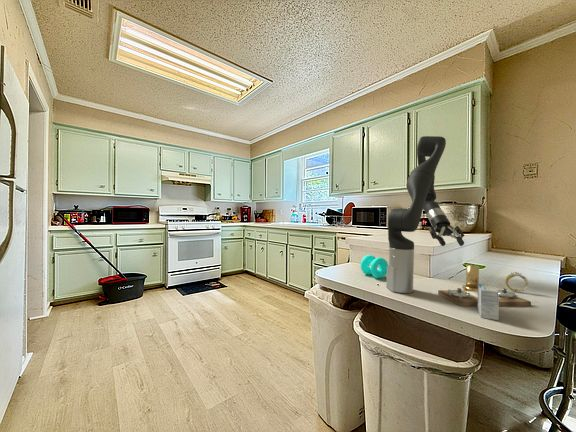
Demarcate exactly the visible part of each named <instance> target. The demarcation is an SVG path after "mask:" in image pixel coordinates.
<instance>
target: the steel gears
mask: <svg viewBox="0 0 576 432" xmlns="http://www.w3.org/2000/svg"><path fill="white" fill-rule="evenodd" d="M461 290H462V288H460V287H458V288H457V289H448V293H449V296H454V297H458V298H459V299H462V298H468V299H471V295H470V293H469V292H464V291H461ZM497 291H498V292H499V297H503V298H506V299H509V298H515V299H517V297H519V295H518V294H516V293H515V291H507V288H505V287H504V288H503V287H502V288H501V289H497Z"/></svg>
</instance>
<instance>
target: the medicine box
mask: <svg viewBox="0 0 576 432" xmlns="http://www.w3.org/2000/svg"><path fill="white" fill-rule="evenodd" d="M497 290H498V289H497V287H495V285H490V284H482V283H479V284H478V306H477V311H478V313H479V316H480V318H482V319H488V320H492V321H499V319H500V313H499V309H500V306H499V292H498V291H497Z"/></svg>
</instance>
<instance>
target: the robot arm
mask: <svg viewBox="0 0 576 432" xmlns="http://www.w3.org/2000/svg"><path fill="white" fill-rule="evenodd" d="M446 145H447V139H446V138H445V137H443V136H440V135H439V136H437V135H434V136H432V135H431V136H430V135H429V136H428V135H427V136H426V135H423V136H421V137H420V138H419V139H418V142H417V144H416V157H417V166H416V167H414V168H413V169H412V170H411V172H410V174H409V176H408V178H407V181H406V190H407V192H408V194H409V196H410V198H411V204H410V207H409V208H392V209H391V210H390V211H389V213H388V216H387V231H388V232H387V236H388V237H387V240H388V245H389V247H388V249H389V251H388V265H387V274H386V283H385V284H386V289H388V290H389V291H390V292H391V293H400V294H412V293H413V292H414V274H415V273H414V266H415V263H414V261H415V243H414V241H413V240H411V239H409V238H407V237H406V236H404V235H403V234H402V232H404V233H405V232H407V233H414V232H415V231H416V230H417V229H418V227H419V225H420V222H421V218H422V216H423V215H422V213H423V211H424V212H425V214H426V217H427V219H428V220H429V223H430V224H431V226H430V227H429V229H428V231H429V234H430V236H431V239H433V240H435V239H436V240H437V241H438V243H439V244H440V246H441V247H445V245H446V241H445V239H444V237H446V236H447V237H451V238H452V239H456V241H457V243H458V245H459V246H460V247H463V246H464V245H465V242H464V240H463V238H464V237H465V234H464V232H463V231H462V230H461V228H460V227H459V226H458V225H457V226H455V227H453V226H451V222H450V219H448V217H447V215H446V213H445V212H444V211H443V210H442V208H441V206H440V205H439V203H438V202H437V201H436V199H437V193H436V191H435V179H436V178H435V177H436V175H435V174H436V173H435V172H436V171H437V168H438V165H439V162H440V160H441V158H442V156H443V154H444V152H445V149H446ZM426 157H427V159H426ZM428 157H429V158H428Z"/></svg>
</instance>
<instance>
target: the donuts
mask: <svg viewBox="0 0 576 432" xmlns="http://www.w3.org/2000/svg"><path fill="white" fill-rule="evenodd" d="M387 265H389V262H388V261H387V260H386V259H385V258H383V257H375V256H374V255H372V254H367V255H365V256H363V257H362V259H361V260H360V270H361V272H362V273H364V274H365V275H367V276H368V275H369V276H370V274H371V275H372V276H373V277H374V278H376V279H382V278H384V277H385V276H387Z"/></svg>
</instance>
